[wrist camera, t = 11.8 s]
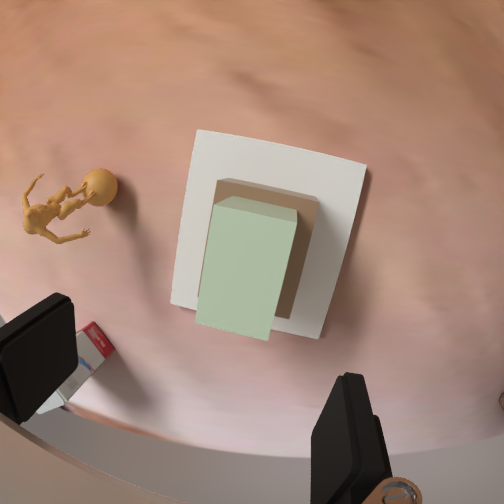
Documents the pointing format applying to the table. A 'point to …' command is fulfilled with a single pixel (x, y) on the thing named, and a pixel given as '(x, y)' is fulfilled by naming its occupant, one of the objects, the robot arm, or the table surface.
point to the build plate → (281, 174)
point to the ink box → (81, 365)
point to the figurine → (68, 203)
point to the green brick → (245, 266)
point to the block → (502, 401)
